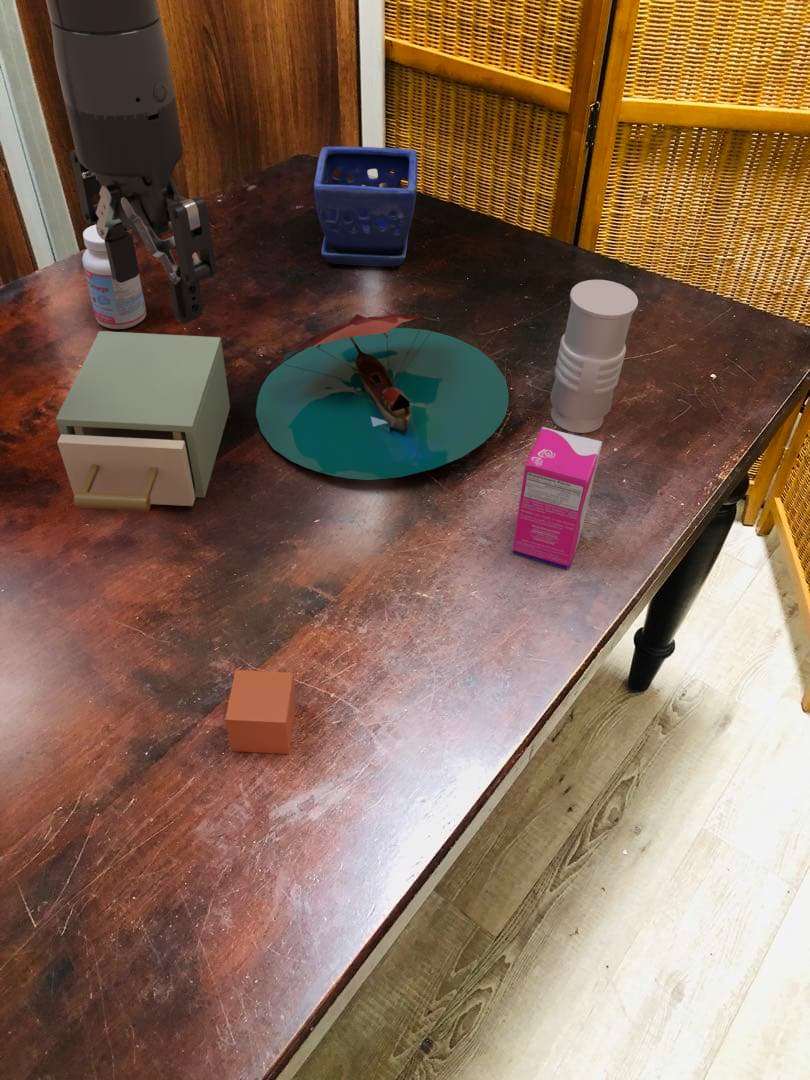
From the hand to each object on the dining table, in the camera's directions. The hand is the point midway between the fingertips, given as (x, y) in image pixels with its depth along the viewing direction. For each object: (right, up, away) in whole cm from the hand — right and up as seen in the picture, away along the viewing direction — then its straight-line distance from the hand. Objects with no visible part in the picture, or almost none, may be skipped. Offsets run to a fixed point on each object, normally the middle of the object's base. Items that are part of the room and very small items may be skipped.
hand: (157, 298), depth 73 cm
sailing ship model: (+18, -5, +26) cm, 32 cm away
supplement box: (+34, -20, +12) cm, 42 cm away
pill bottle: (-15, +7, +36) cm, 40 cm away
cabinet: (-5, -10, +20) cm, 23 cm away
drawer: (-6, -13, +15) cm, 21 cm away
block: (+9, -35, -3) cm, 36 cm away
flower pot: (+15, +20, +50) cm, 56 cm away
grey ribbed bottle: (+40, -6, +26) cm, 48 cm away
